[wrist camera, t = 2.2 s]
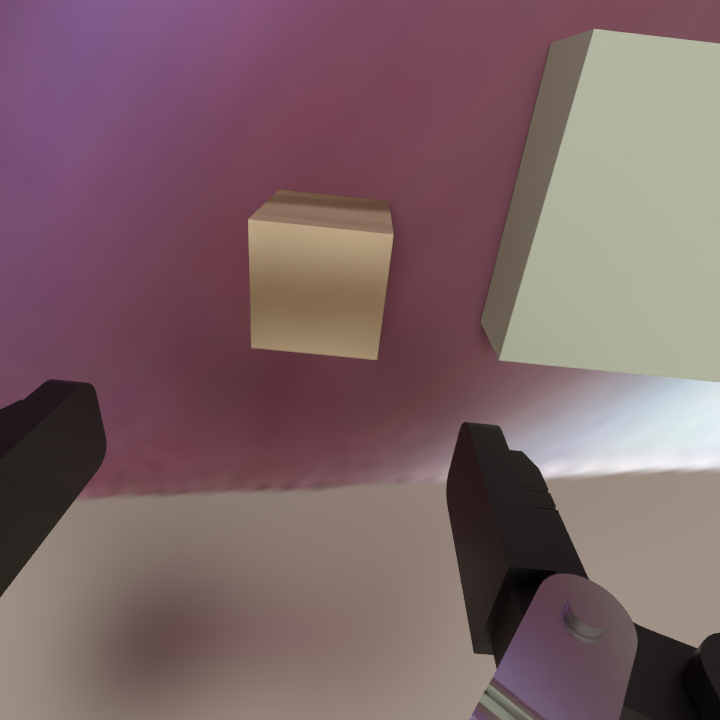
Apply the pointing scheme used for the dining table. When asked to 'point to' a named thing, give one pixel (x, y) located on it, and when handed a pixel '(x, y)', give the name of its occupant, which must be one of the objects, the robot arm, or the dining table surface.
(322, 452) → the dining table surface
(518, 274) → the sage plinth
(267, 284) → the maple block
